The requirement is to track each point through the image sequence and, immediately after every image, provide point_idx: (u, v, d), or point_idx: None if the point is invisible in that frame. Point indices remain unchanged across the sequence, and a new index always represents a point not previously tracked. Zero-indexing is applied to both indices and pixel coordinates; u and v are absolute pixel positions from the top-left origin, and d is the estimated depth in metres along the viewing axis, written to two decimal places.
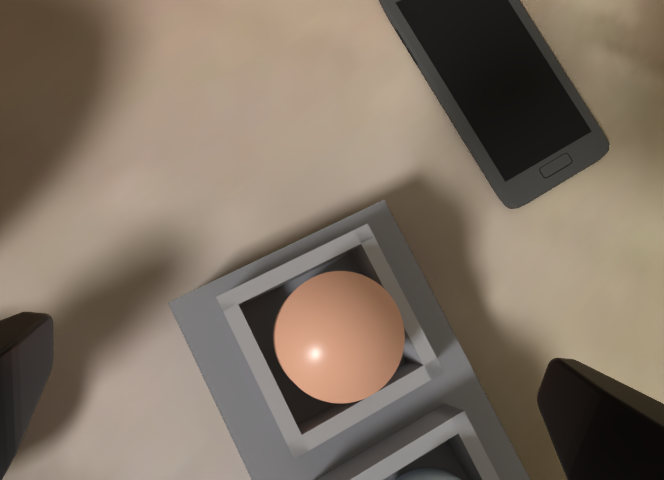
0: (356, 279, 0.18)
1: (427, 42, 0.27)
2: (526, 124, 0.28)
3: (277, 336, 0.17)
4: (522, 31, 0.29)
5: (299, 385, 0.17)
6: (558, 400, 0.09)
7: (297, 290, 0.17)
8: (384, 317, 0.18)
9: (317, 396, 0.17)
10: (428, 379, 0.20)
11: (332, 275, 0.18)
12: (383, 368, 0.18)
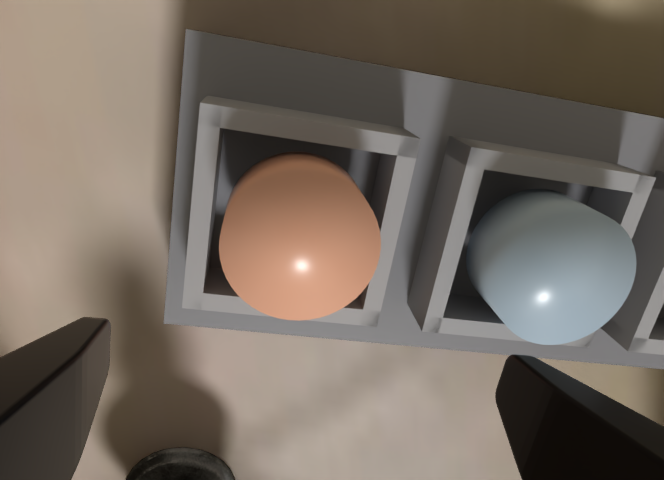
0: (253, 195, 0.13)
1: None
2: None
3: (256, 308, 0.15)
4: None
5: (317, 316, 0.15)
6: (514, 397, 0.09)
7: (223, 263, 0.14)
8: (315, 193, 0.14)
9: (339, 307, 0.15)
10: (413, 161, 0.16)
11: (232, 217, 0.14)
12: (364, 230, 0.14)
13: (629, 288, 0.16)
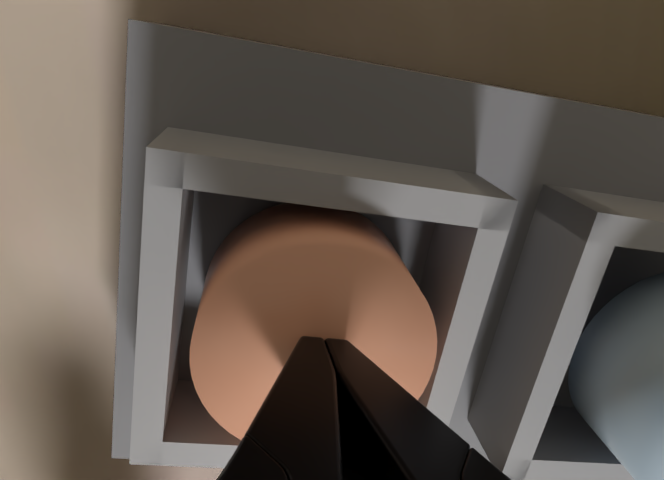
0: (242, 282, 0.08)
1: None
2: None
3: None
4: None
5: None
6: None
7: (196, 382, 0.09)
8: (339, 278, 0.09)
9: None
10: (504, 236, 0.09)
11: (209, 316, 0.09)
12: (413, 329, 0.09)
13: None
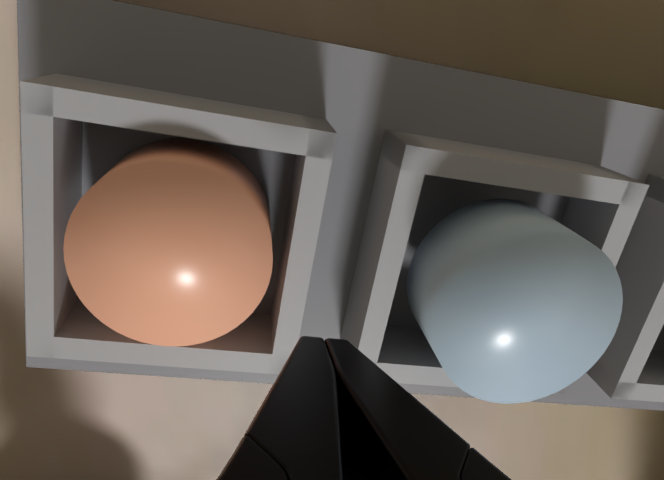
0: (102, 193, 0.11)
1: None
2: None
3: (121, 332, 0.12)
4: None
5: (199, 341, 0.12)
6: None
7: (71, 278, 0.11)
8: (183, 190, 0.11)
9: (226, 330, 0.12)
10: (328, 163, 0.12)
11: (77, 221, 0.11)
12: (250, 236, 0.11)
13: (613, 331, 0.12)
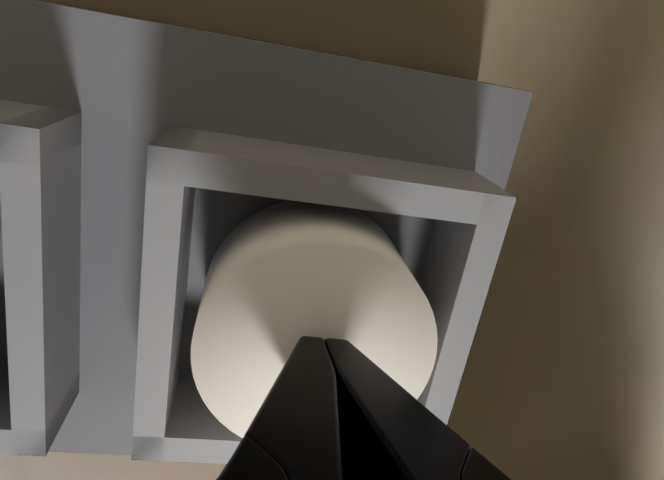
0: None
1: None
2: None
3: None
4: None
5: None
6: None
7: None
8: None
9: None
10: None
11: None
12: None
13: None
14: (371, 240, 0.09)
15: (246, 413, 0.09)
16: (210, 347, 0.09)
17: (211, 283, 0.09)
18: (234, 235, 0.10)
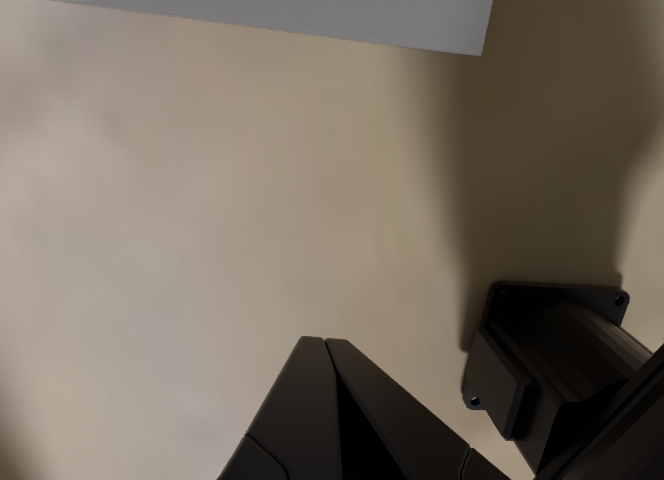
0: None
1: None
2: None
3: None
4: None
5: None
6: None
7: None
8: None
9: None
10: None
11: None
12: None
13: None
14: None
15: None
16: None
17: None
18: None
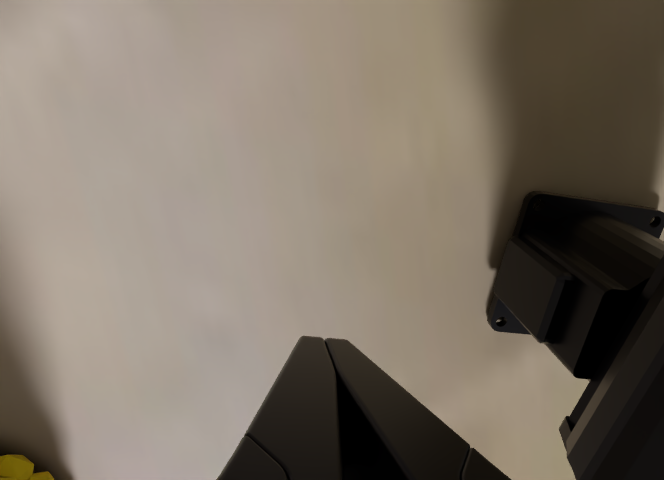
0: None
1: None
2: None
3: None
4: None
5: None
6: None
7: None
8: None
9: None
10: None
11: None
12: None
13: None
14: None
15: None
16: None
17: None
18: None
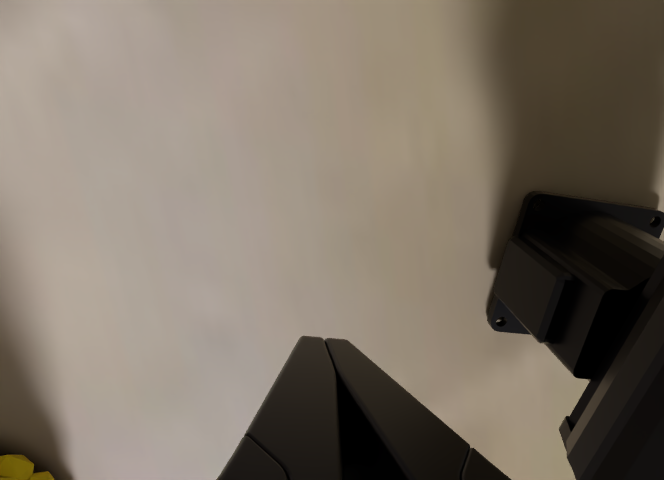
0: None
1: None
2: None
3: None
4: None
5: None
6: None
7: None
8: None
9: None
10: None
11: None
12: None
13: None
14: None
15: None
16: None
17: None
18: None
